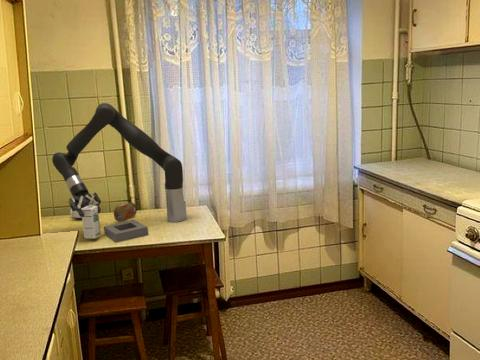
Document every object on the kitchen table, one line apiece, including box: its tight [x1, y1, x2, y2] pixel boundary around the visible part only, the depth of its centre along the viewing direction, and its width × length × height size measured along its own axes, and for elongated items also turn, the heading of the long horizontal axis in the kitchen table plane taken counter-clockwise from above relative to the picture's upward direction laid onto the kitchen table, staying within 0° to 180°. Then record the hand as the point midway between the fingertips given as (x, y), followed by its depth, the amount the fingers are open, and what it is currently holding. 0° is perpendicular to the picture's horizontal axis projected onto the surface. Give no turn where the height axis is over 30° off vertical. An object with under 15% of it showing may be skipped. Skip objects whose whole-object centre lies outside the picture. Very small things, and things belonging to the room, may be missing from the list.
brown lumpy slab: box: [113, 202, 138, 223], centre depth 269 cm, size 15×3×8 cm, turn 148°
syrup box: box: [81, 205, 102, 239], centre depth 237 cm, size 6×6×14 cm
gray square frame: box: [103, 219, 149, 243], centre depth 244 cm, size 16×16×4 cm
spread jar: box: [70, 201, 90, 221], centre depth 276 cm, size 12×11×12 cm
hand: (91, 214), depth 236 cm, fingers closed on syrup box, 8 cm apart
